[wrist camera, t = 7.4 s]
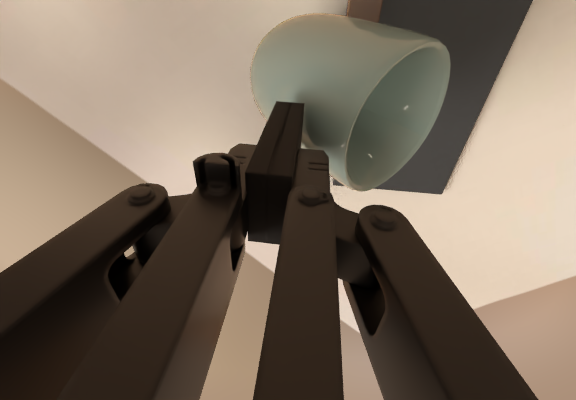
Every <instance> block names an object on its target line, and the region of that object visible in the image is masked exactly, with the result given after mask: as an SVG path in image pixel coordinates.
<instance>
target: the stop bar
mask: <svg viewBox="0 0 576 400" xmlns="http://www.w3.org/2000/svg"><path fill="white" fill-rule="evenodd" d="M382 3H383V0H348V6H347V13H346V16H352V17H357V18H362V19H367V20H372V21H376V22H379V18H380V13H381V8H382Z"/></svg>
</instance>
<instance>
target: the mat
mask: <svg viewBox="0 0 576 400" xmlns="http://www.w3.org/2000/svg"><path fill="white" fill-rule="evenodd" d="M532 1H533V0H383V3H382V8H381V13H380V18H379V22H381V23H385V24H389V25H393V26H397V27H401V28H405V29H409V30H413V31H417V32H420V33H424V34H427V35H429V36H432V37H434V38H436V39H438V40H439V41H441V42H442V43H444V44H445V46H446V48H447V50H448V52H449V55H450V64H451V65H450V77H449V82H448V88H447V91H446V95H445V98H444V101H443V104H442V107H441V109H440V112H439V114H438V117H437V119H436V121H435V123H434V125H433V127H432V129H431V130H430V132H429V134H428V136H427V137H426V139H425V140H424V142H423V143H422V145H421V146H420V148H419V149H418V150H417V151H416V153H415V154H414V155H413V156H412V158H411V159H410V160H409V161H408V162H407V163H406V164H405V165H404V166H403V167H402V168H401V169H400V170H399V171H398V172H397V173H396V174H394V175H393V176H392V177H391V178H389V179H388V180H387V181H385V182H384V183H382V184H381V185H379V186H377V187H375V188H373V189H385V190H396V191H408V192H420V193H431V194H442V193H443V190H444V188H445V186H446V184H447V182H448V180H449V178H450V176H451V173H452V171H453V169H454V167H455V165H456V163H457V161H458V159H459V156H460V154H461V152H462V150H463V148H464V146H465V144H466V142H467V139H468V137H469V135H470V133H471V131H472V129H473V127H474V125H475V122H476V120H477V118H478V116H479V114H480V112H481V110H482V108H483V105H484V103H485V101H486V99H487V97H488V95H489V93H490V91H491V88H492V86H493V84H494V82H495V80H496V78H497V76H498V74H499V71H500V69H501V67H502V65H503V63H504V61H505V59H506V57H507V54H508V52H509V50H510V48H511V46H512V44H513V42H514V40H515V37H516V35H517V33H518V31H519V29H520V27H521V25H522V23H523V20H524V18H525V16H526V14H527V12H528V10H529V8H530V6H531V3H532ZM333 185H338V186H344V185H343V184H341V183H340V182H338V181H337V180H336V179H334V180H333Z"/></svg>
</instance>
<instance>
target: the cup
mask: <svg viewBox="0 0 576 400" xmlns="http://www.w3.org/2000/svg"><path fill="white" fill-rule="evenodd" d="M450 65H451V64H450V55H449V52H448V50H447V48H446V46H445V44H444V43H442V42H441V41H439V40H438V39H436V38H434V37H432V36H429V35H427V34H424V33H420V32H417V31H413V30H409V29H405V28H401V27H397V26H393V25H389V24H385V23H381V22H376V21H372V20H367V19H362V18H357V17H352V16H345V15H336V14H326V13H311V14H304V15H299V16H295V17H292V18H290V19H288V20H286V21H283V22H281V23H280V24H279V25H277V26H276V27H275V28H273V29H272V30H271V31H270V32H269V33H268V34H267V35H266V36H265V37H264V38H263V39H262V41H261V42H260V44H259V45H258V47H257V49H256V51H255V53H254V56H253V59H252V63H251V69H250V81H251V89H252V94H253V97H254V101H255V103H256V105H257V107H258V109H259V111H260V113H261V115H262V116H263V117H264V119H265V120H266V121H268V119H269V117H270V114H271V112H272V110H273V107H274V105H275V103H276V101H282V102H294V103H305V104H304V116H303V128H302V140H301V148H303V149H315V150H324V152H325V153H326V154H327V155H328V156H329V175H330V176H331V177H333V178H334V179H336V180H337V181H338V182H340V183H341V184H343V185H344V186H346V187H348V188H349V189H352V190H355V191H367V190H371V189H373V188H375V187H377V186H379V185H381V184H382V183H384V182H385V181H387V180H388V179H389V178H391V177H392V176H393V175H394V174H396V173H397V172H398V171H399V170H400V169H401V168H402V167H403V166H404V165H405V164H406V163H407V162H408V161H409V160H410V159H411V158H412V156H413V155H414V154H415V153H416V151H417V150H418V149H419V148H420V146H421V145H422V143H423V142H424V140H425V139H426V137H427V136H428V134H429V132H430V130H431V129H432V127H433V125H434V123H435V121H436V119H437V117H438V114H439V112H440V109H441V107H442V104H443V101H444V98H445V95H446V91H447V88H448V82H449V77H450Z"/></svg>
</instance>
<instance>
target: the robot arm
mask: <svg viewBox="0 0 576 400" xmlns="http://www.w3.org/2000/svg"><path fill="white" fill-rule="evenodd" d="M304 104H305V103H294V102H282V101H276V103H275V105H274V107H273V110H272V112H271V114H270V117H269V119H268V121H267V123H266V126H265V128H264V130H263V132H262V135H261V137H260V139H259V142H258V144H257V145H249V144H238V145H236V146H235V147H233V148H232V149H231V150H230V151H229V153H228V154H225V153H211V154H206V155H203V156H200V157H198V158H197V159H195V160H194V161H193V166H194V171H195V177H196V183H197V187H196V189H195V190H194V192H193V193H192V194H187V195H179V196H169V197H168V193H167V191H166V189H165V188H164V187H163V186H161V185H159V184H152V183H146V184H139V185H136V186H132V187H130V188H128V189H126V190H124V191H122V192H121V193H119V194H118V195H116V196H115V197H113V198H112V199H110V200H109V201H107V202H106V203H104V204H103V205H101V206H100V207H98V208H97V209H95V210H94V211H92V212H91V213H89V214H88V215H86V216H85V217H83V218H82V219H80V220H79V221H77V222H76V223H75V224H73V225H71V226H70V227H68V228H67V229H65V230H64V231H62V232H61V233H59V234H58V235H56V236H55V237H53V238H52V239H50V240H49V241H47V242H46V243H44V244H43V245H41V246H40V247H38V248H37V249H35V250H34V251H32V252H31V253H29V254H28V255H26V256H25V257H23V258H22V259H21V260H19V261H17V262H16V263H14V264H13V265H11V266H10V267H8V268H7V269H6V270H4V271H2V272H1V273H0V400H199V399H200V396H201V393H202V389H203V386H204V382H205V380H206V376H207V373H208V370H209V366H210V364H211V360H212V357H213V354H214V351H215V347H216V344H217V341H218V338H219V335H220V331H221V328H222V325H223V322H224V318H225V315H226V312H227V309H228V306H229V302H230V299H231V296H232V293H233V289H234V286H235V283H236V280H237V277H238V273H239V270H240V267H241V264H242V260H243V257H244V253H245V238H246V235H247V232H248V241H254V242H263V243H271V244H280V245H279V251H278V257H277V263H276V269H275V274H274V281H273V286H272V292H271V298H270V304H269V309H268V315H267V321H266V327H265V333H264V338H263V344H262V350H261V356H260V361H259V367H258V373H257V379H256V385H255V390H254V396H253V400H344V395H343V375H342V355H341V335H340V315H339V294H338V278H339V279H342V280H343V285H344V288H345V291H346V294H347V296H348V299H349V302H350V305H351V308H352V311H353V313H354V316H355V319H356V322H357V325H358V328H359V330H360V333H361V336H362V339H363V342H364V344H365V347H366V350H367V353H368V356H369V359H370V362H371V364H372V367H373V370H374V373H375V375H376V379H377V381H378V384H379V387H380V390H381V393H382V395H383V398H384V400H538V399H537V397H536V396H535V394H534V393H533V392H532V390H531V389H530V388H529V386H528V385H527V383H526V382H525V381H524V379H523V378H522V377H521V375H520V374H519V373H518V371H517V370H516V368H515V367H514V365H513V364H512V363H511V361H510V360H509V359H508V357H507V356H506V355H505V353H504V352H503V350H502V349H501V348H500V346H499V345H498V343H497V342H496V341H495V339H494V338H493V337H492V335H491V334H490V332H489V331H488V330H487V328H486V327H485V326H484V324H483V323H482V321H481V320H480V319H479V317H478V316H477V315H476V313H475V312H474V310H473V309H472V308H471V306H470V305H469V304H468V302H467V301H466V299H465V298H464V297H463V295H462V294H461V293H460V291H459V290H458V288H457V287H456V286H455V284H454V283H453V282H452V280H451V279H450V277H449V276H448V275H447V273H446V272H445V271H444V269H443V268H442V266H441V265H440V264H439V262H438V261H437V260H436V258H435V257H434V255H433V254H432V253H431V251H430V250H429V249H428V247H427V246H426V244H425V243H424V242H423V240H422V239H421V237H420V236H419V235H418V233H417V232H416V231H415V229H414V228H413V226H412V225H411V224H410V222H409V221H408V220H407V218H406V217H405V216H404V215H403V214H402V213H400V212H398V211H397V210H395V209H393V208H390V207H387V206H383V205H370V206H366V207H364V208H363V209H361V210H360V213H359V214H358V213H355V212H352V211H349V210H347V209H344V208H342V207H340V206H339V205H337V204H336V203H335V202H334V199H333V196H332V194H331V193H330V176H329V156H328V155H327V154H326V153H325V152H324V150H315V149H303V148H301V140H302V128H303V116H304ZM131 246H133V249H134V251H135V252H134V253H133V254H131V255H130V256H128V257H125V255H124V252H125V251H126V250H128V249H129V248H130V247H131Z"/></svg>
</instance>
